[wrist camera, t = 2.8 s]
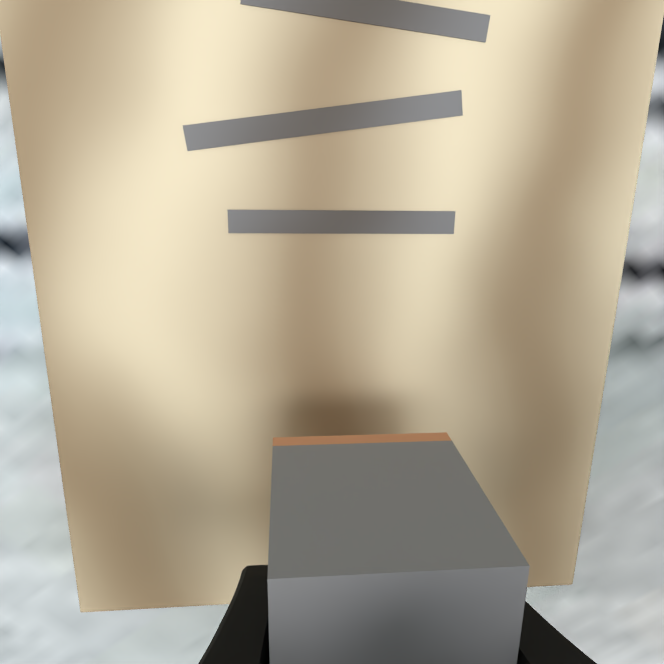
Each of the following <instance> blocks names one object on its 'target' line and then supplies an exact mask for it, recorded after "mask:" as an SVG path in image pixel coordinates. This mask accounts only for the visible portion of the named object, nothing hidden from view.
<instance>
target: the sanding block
mask: <svg viewBox="0 0 664 664" xmlns="http://www.w3.org/2000/svg"><path fill="white" fill-rule="evenodd" d="M529 568H530V565H529V564H528V562H527V561H526V559H525V557H524V556H523V554H522V553H521V551H520V549H519V548H518V546H517V545H516V543H515V541H514V540H513V538H512V537H511V535H510V533H509V532H508V530H507V528H506V527H505V525H504V524H503V522H502V520H501V519H500V517H499V516H498V514H497V512H496V511H495V509H494V508H493V506H492V504H491V503H490V501H489V500H488V498H487V496H486V495H485V493H484V492H483V490H482V488H481V487H480V485H479V483H478V482H477V480H476V479H475V477H474V475H473V474H472V472H471V471H470V469H469V467H468V466H467V464H466V463H465V461H464V459H463V458H462V456H461V455H460V453H459V451H458V450H457V448H456V447H455V445H454V443H453V442H452V440H451V438H450V437H449V435H448V434H447V432H442V433H408V434H375V435H341V436H307V437H273V448H272V474H271V500H270V526H269V551H268V577H267V582H268V619H269V657H270V664H517V658H518V651H519V643H520V636H521V628H522V621H523V613H524V606H525V598H526V590H527V583H528V575H529Z"/></svg>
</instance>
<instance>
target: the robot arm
mask: <svg viewBox="0 0 664 664" xmlns="http://www.w3.org/2000/svg"><path fill="white" fill-rule="evenodd" d="M267 577H268V565H249V566H246V567H245V568H244V569H243V570H242V573H241V576H240V580H239V582H238V585H237V588H236V591H235V593H234V595H233V598H232V600H231V602H230V605H229V607H228V609H227V611H226V613H225V615H224V617H223V619H222V621H221V623H220V625H219V627H218V629H217V631H216V633H215V635H214V637H213V639H212V641H211V643H210V645H209V647H208V648H207V650H206V652H205V653H204V655H203V657H202V659H201V660H200V662H199V664H270V657H269V619H268V582H267ZM517 664H597V663H595V662H594V661H593V660H591V659H590V658H589V657H588V656H586V655H585V654H584V653H583V652H582V651H581V650H579V649H578V648H577V647H576V646H575V645H573V644H572V643H571V642H570V641H569V640H568V639H566V638H565V637H564V636H563V635H562V634H561V633H559V632H558V631H557V630H556V629H555V628H554V627H553V626H552V625H550V624H549V623H548V622H547V621H546V620H545V619H544V618H543V617H542V616H541V615H540V614H539V613H537V612H536V611H535V610H534V609H533V608H532V607H531V606H530V605H529V604H528V603H527V602H526V601H525V606H524V613H523V621H522V628H521V636H520V643H519V651H518V658H517Z"/></svg>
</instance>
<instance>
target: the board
mask: <svg viewBox="0 0 664 664" xmlns="http://www.w3.org/2000/svg"><path fill="white" fill-rule="evenodd" d="M663 15H664V0H0V35H1V42H2V49H3V57H4V64H5V71H6V78H7V85H8V93H9V100H10V107H11V114H12V121H13V129H14V136H15V143H16V150H17V157H18V165H19V172H20V179H21V186H22V193H23V201H24V208H25V215H26V222H27V229H28V237H29V244H30V251H31V258H32V265H33V273H34V280H35V287H36V294H37V301H38V309H39V316H40V323H41V330H42V337H43V345H44V352H45V359H46V366H47V373H48V381H49V388H50V395H51V402H52V409H53V417H54V424H55V431H56V438H57V446H58V453H59V460H60V467H61V474H62V482H63V489H64V496H65V503H66V510H67V518H68V525H69V532H70V539H71V546H72V554H73V561H74V568H75V575H76V582H77V590H78V597H79V604H80V611H81V612H95V611H113V610H131V609H148V608H166V607H183V606H201V605H219V604H230V602H231V600H232V598H233V595H234V593H235V591H236V588H237V585H238V582H239V580H240V576H241V573H242V570H243V569H244V568H245V567H246V566H249V565H268V551H269V526H270V500H271V474H272V448H273V437H307V436H341V435H375V434H408V433H442V432H447V434H448V435H449V437H450V438H451V440H452V442H453V443H454V445H455V447H456V448H457V450H458V451H459V453H460V455H461V456H462V458H463V459H464V461H465V463H466V464H467V466H468V467H469V469H470V471H471V472H472V474H473V475H474V477H475V479H476V480H477V482H478V483H479V485H480V487H481V488H482V490H483V492H484V493H485V495H486V496H487V498H488V500H489V501H490V503H491V504H492V506H493V508H494V509H495V511H496V512H497V514H498V516H499V517H500V519H501V520H502V522H503V524H504V525H505V527H506V528H507V530H508V532H509V533H510V535H511V537H512V538H513V540H514V541H515V543H516V545H517V546H518V548H519V549H520V551H521V553H522V554H523V556H524V557H525V559H526V561H527V562H528V564H529V565H530V568H529V575H528V583H527V587H536V586H553V585H571V584H572V583H573V577H574V571H575V564H576V558H577V552H578V546H579V539H580V533H581V527H582V521H583V514H584V508H585V502H586V496H587V489H588V483H589V477H590V471H591V465H592V458H593V452H594V446H595V440H596V433H597V427H598V421H599V415H600V408H601V402H602V396H603V390H604V383H605V377H606V371H607V365H608V359H609V352H610V346H611V340H612V334H613V327H614V321H615V315H616V309H617V302H618V296H619V290H620V284H621V277H622V271H623V265H624V259H625V252H626V246H627V240H628V234H629V228H630V221H631V215H632V209H633V203H634V196H635V190H636V184H637V178H638V171H639V165H640V159H641V153H642V146H643V140H644V134H645V128H646V121H647V115H648V109H649V103H650V97H651V90H652V84H653V78H654V72H655V65H656V59H657V53H658V47H659V40H660V34H661V28H662V22H663Z"/></svg>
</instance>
